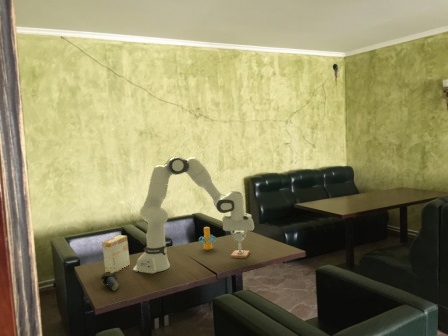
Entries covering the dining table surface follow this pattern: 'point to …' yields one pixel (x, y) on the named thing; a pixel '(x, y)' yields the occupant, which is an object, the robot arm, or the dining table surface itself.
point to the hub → (238, 236)
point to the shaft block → (240, 252)
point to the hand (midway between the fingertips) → (239, 237)
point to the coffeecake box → (116, 253)
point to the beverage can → (111, 280)
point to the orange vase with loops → (207, 239)
